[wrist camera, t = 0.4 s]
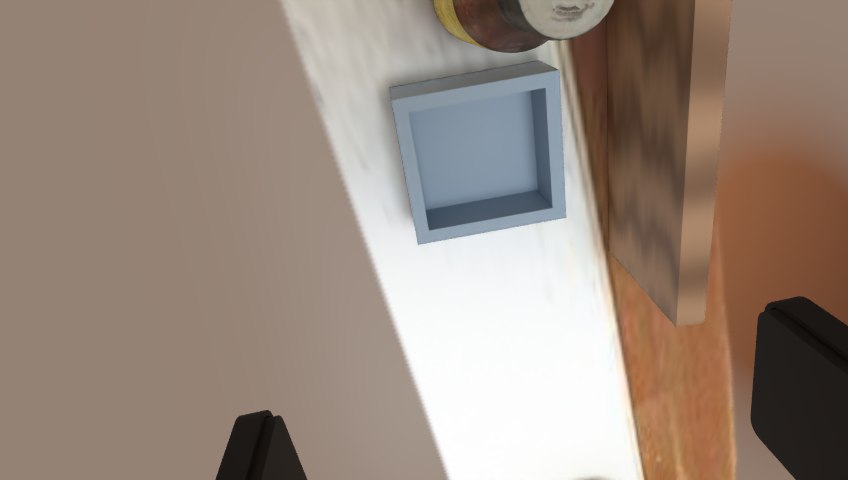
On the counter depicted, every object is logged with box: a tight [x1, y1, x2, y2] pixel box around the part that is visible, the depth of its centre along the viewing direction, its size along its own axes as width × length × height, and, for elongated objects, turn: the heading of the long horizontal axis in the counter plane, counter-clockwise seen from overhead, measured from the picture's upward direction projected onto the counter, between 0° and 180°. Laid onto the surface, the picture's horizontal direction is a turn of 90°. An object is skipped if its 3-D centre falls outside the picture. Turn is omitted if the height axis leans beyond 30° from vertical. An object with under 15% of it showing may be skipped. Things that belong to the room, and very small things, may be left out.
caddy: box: [389, 61, 566, 245], centre depth 41 cm, size 11×12×5 cm
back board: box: [607, 0, 732, 327], centre depth 37 cm, size 24×2×12 cm, turn 9°
